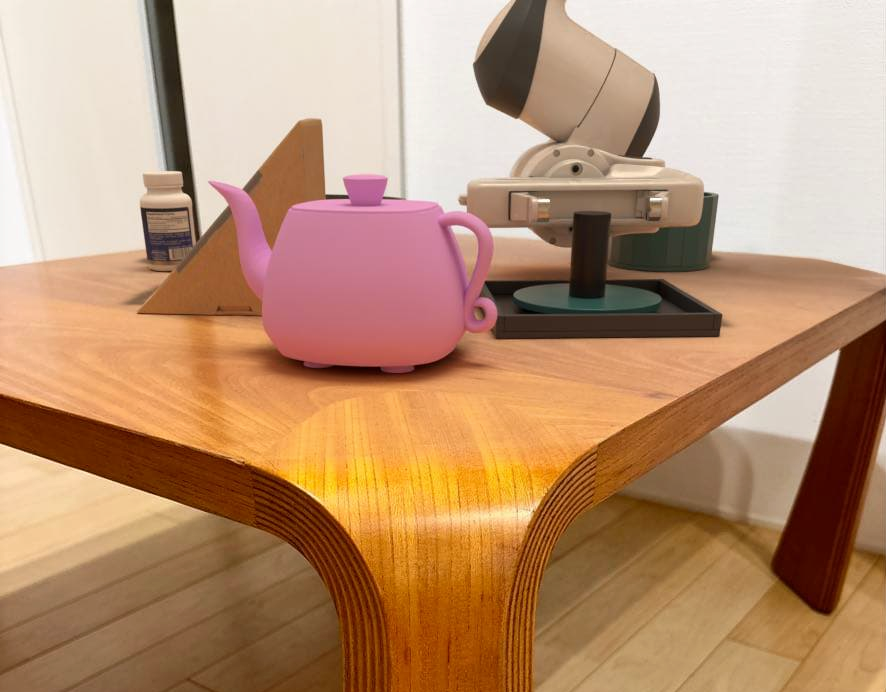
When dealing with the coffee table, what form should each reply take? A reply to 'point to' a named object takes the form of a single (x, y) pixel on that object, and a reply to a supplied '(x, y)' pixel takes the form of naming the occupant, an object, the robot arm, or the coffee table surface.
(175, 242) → the pill bottle
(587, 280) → the tin lid
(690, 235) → the dark green cylinder
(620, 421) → the coffee table surface
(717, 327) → the lid tray
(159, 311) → the sandwich container
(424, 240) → the teapot
